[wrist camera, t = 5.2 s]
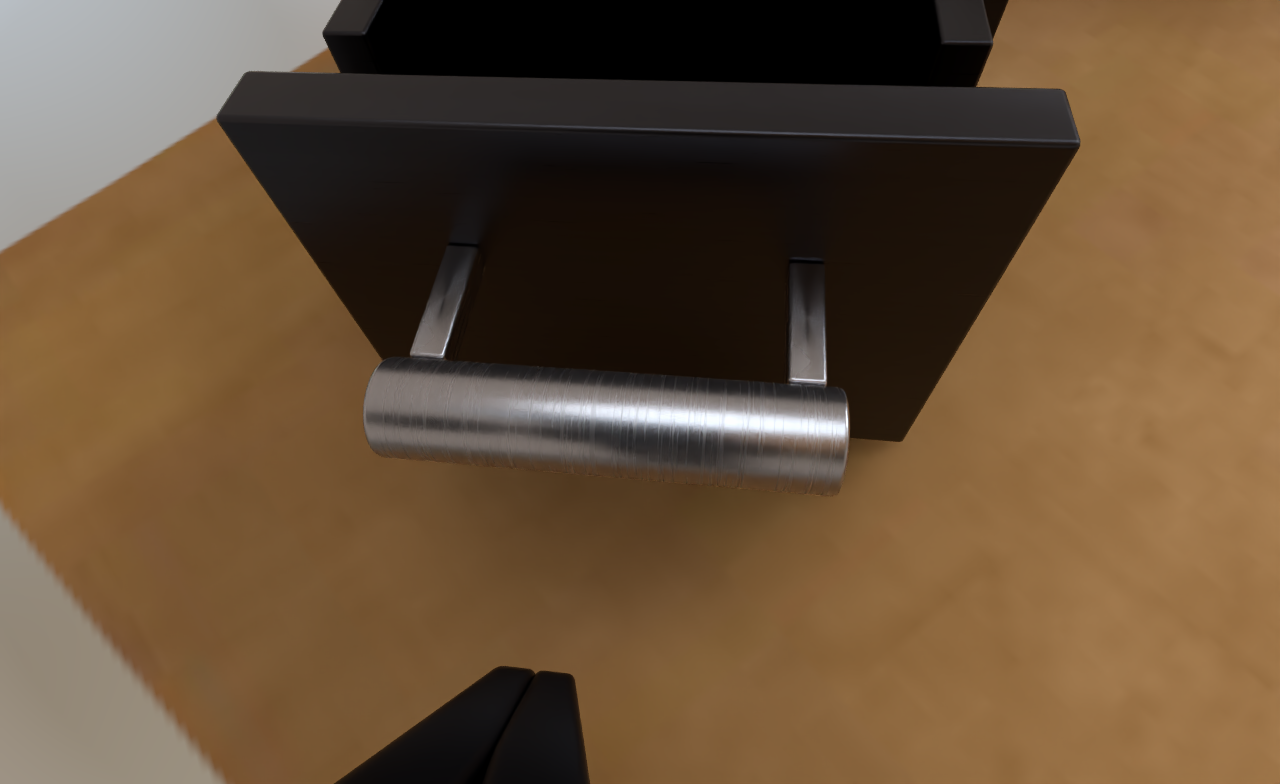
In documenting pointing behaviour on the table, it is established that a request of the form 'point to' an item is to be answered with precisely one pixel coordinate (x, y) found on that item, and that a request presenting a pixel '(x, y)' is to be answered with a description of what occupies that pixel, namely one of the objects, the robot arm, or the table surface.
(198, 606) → the table surface
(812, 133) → the drawer
